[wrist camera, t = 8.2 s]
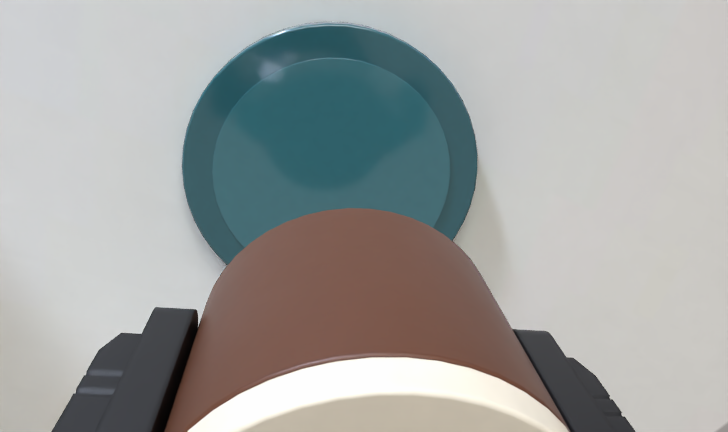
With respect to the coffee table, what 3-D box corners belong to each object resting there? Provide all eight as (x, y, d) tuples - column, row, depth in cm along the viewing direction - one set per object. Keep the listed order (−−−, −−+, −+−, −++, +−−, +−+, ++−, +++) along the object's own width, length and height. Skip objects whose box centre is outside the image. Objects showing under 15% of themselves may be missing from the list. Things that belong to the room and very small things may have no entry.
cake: (203, 193, 10) (108, 377, 5) (522, 220, 11) (681, 402, 6) (199, 446, 12) (130, 730, 8) (462, 454, 13) (544, 714, 8)
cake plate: (183, 4, 17) (177, 5, 16) (497, 38, 18) (506, 41, 17) (188, 286, 21) (183, 300, 20) (446, 299, 22) (451, 311, 21)
